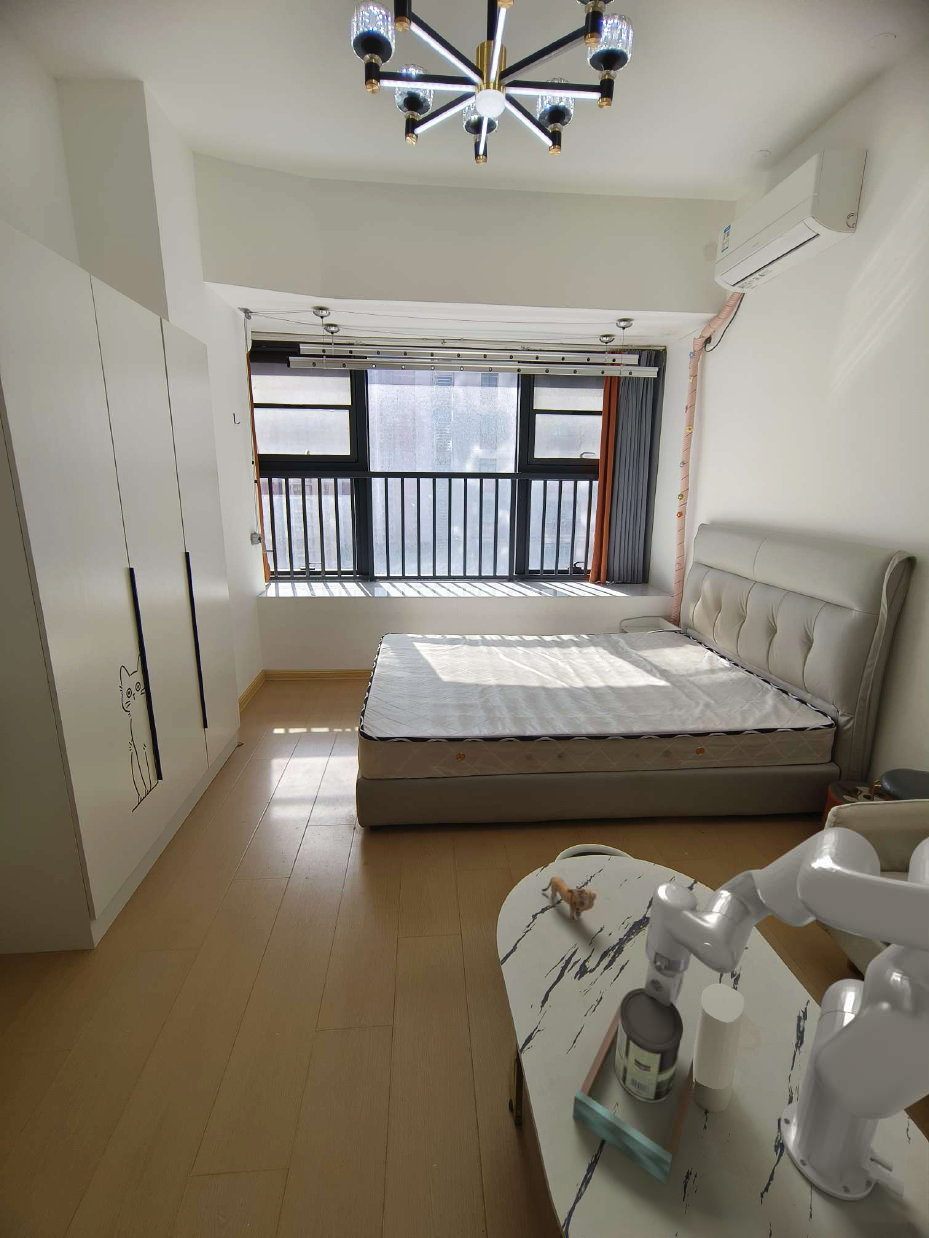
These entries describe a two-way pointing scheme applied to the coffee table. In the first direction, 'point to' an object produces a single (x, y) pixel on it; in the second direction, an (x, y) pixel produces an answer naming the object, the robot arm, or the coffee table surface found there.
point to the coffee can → (647, 1046)
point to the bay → (620, 1131)
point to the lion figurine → (571, 896)
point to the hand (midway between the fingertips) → (655, 1023)
